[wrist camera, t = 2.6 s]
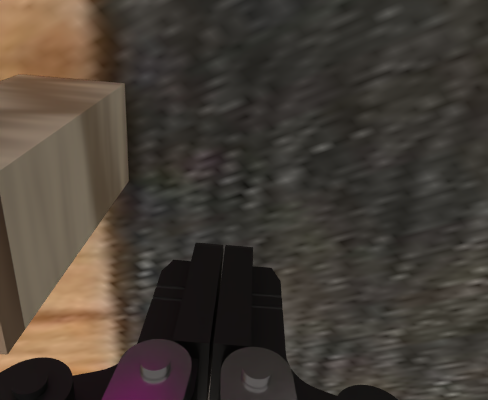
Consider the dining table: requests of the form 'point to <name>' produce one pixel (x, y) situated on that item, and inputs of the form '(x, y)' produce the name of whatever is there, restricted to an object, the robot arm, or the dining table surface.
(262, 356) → the robot arm
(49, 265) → the birch block
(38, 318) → the dining table surface
